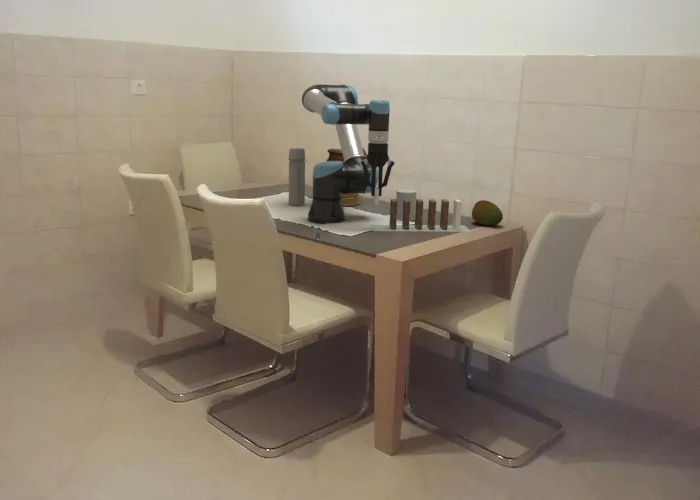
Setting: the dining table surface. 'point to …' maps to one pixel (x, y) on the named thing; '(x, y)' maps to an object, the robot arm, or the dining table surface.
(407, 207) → the tile
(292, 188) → the water bottle
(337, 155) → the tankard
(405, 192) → the cup
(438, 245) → the dining table surface
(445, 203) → the tile
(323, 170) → the robot arm
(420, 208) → the tile
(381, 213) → the dining table surface
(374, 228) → the strip
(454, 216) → the ivory tile
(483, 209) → the fruit
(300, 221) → the dining table surface
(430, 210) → the tile
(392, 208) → the tile
